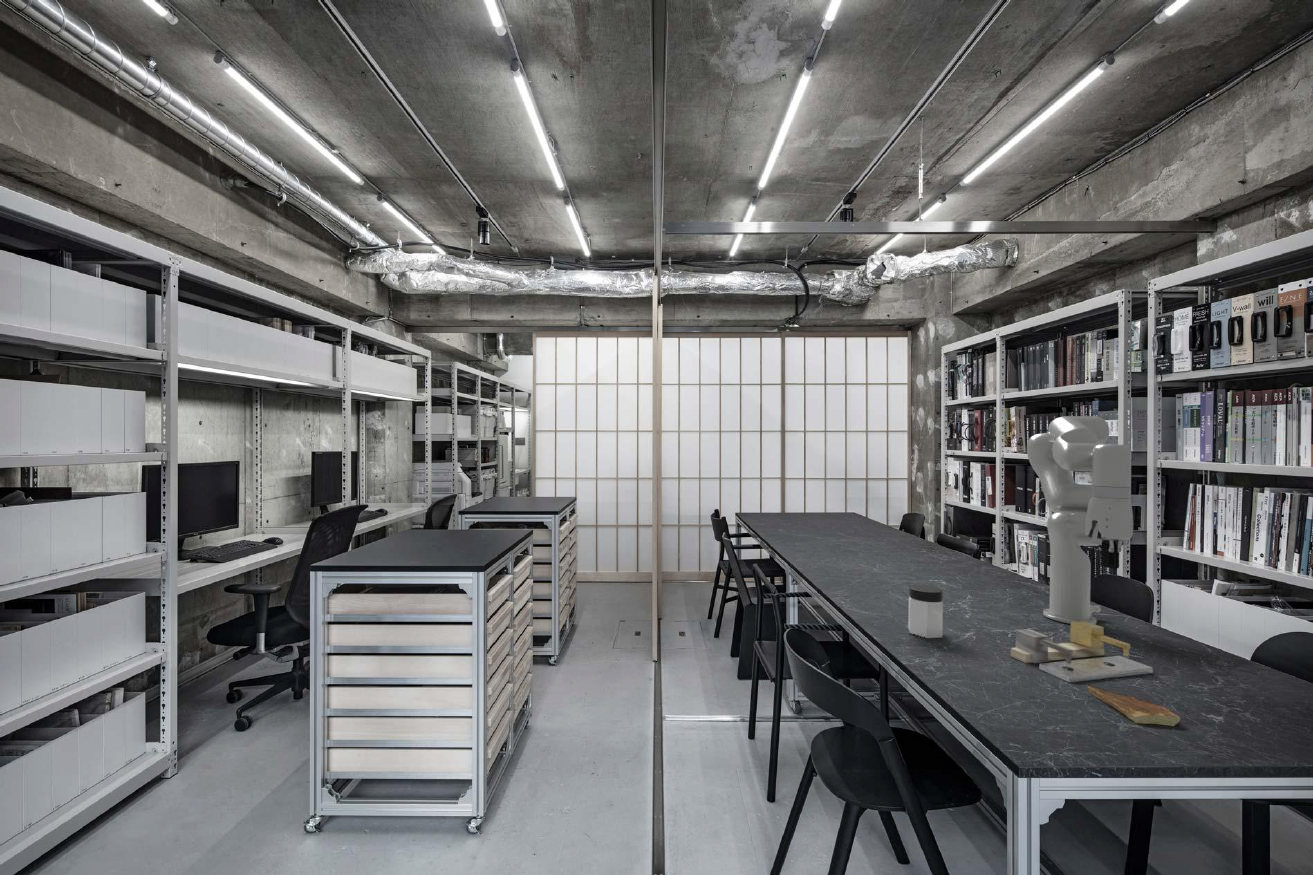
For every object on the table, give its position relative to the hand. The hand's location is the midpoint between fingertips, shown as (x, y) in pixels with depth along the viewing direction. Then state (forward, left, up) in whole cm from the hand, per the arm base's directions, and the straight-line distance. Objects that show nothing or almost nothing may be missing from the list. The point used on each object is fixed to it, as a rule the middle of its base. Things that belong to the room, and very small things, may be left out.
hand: (1109, 567), depth 137 cm
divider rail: (+16, +3, -21) cm, 26 cm away
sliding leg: (+7, +3, -19) cm, 20 cm away
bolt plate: (+16, +9, -21) cm, 28 cm away
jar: (+37, -20, -21) cm, 47 cm away
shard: (+29, +25, -22) cm, 44 cm away
